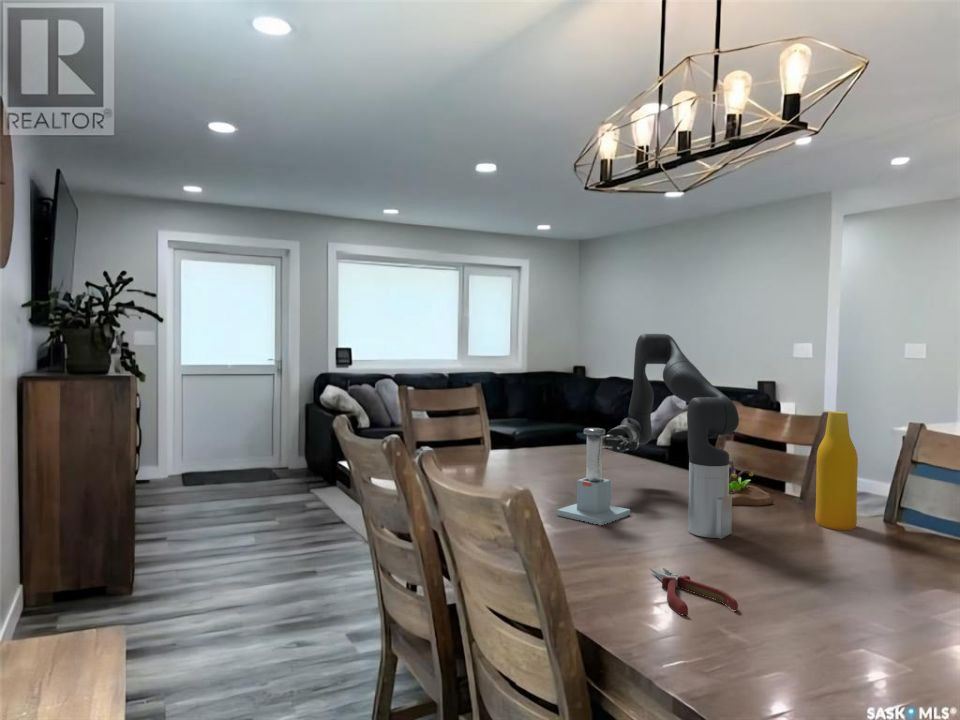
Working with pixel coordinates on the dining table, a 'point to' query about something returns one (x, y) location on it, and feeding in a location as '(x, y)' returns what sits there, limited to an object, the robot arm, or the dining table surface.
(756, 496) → the plant
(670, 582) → the pliers
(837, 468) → the beer bottle
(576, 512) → the stand base
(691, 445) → the robot arm
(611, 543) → the dining table surface
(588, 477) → the column
